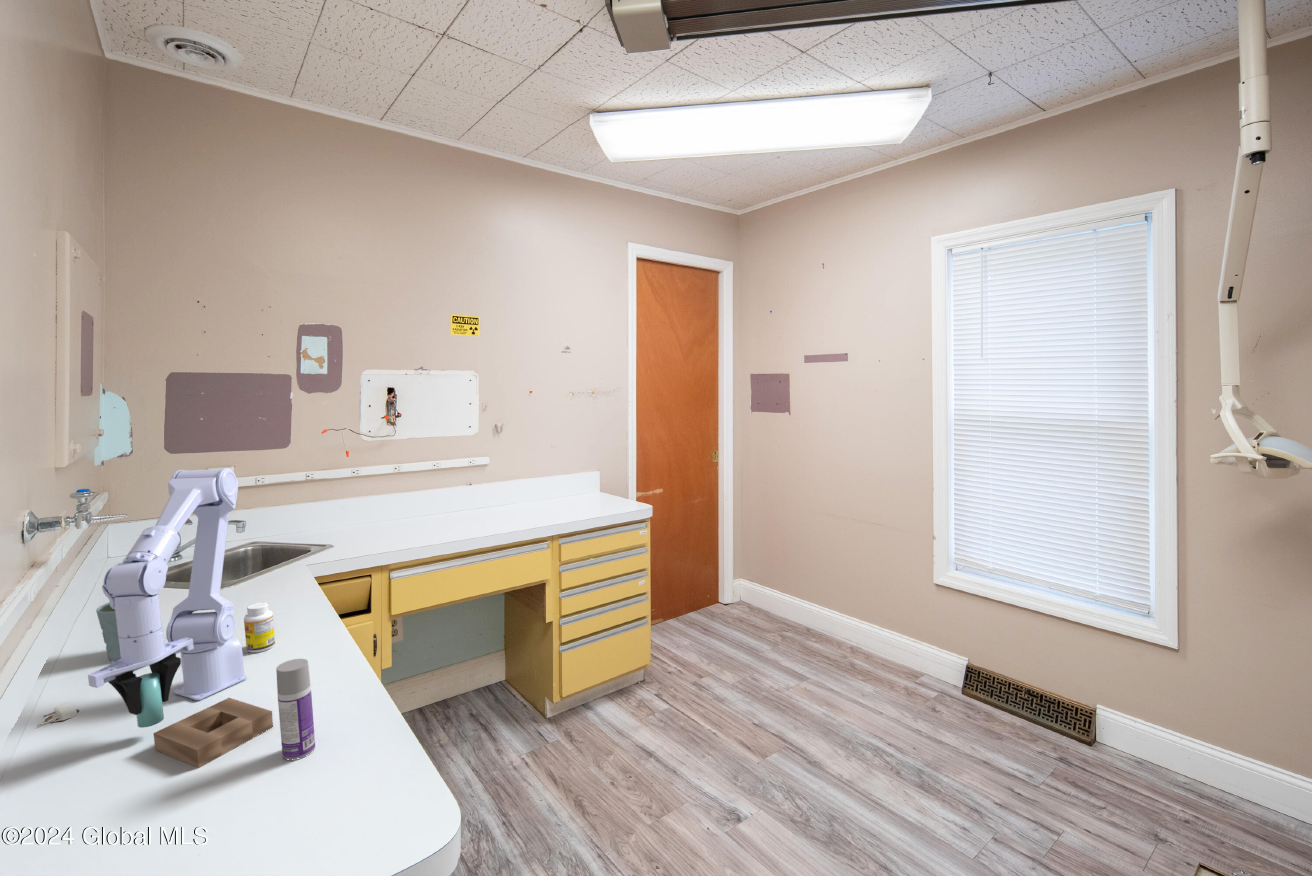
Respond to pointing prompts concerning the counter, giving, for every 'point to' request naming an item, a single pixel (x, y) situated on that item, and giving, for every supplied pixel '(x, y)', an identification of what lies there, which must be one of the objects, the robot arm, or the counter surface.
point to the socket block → (212, 731)
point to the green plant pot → (109, 631)
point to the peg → (150, 701)
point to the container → (295, 709)
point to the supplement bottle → (259, 628)
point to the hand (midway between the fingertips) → (149, 706)
